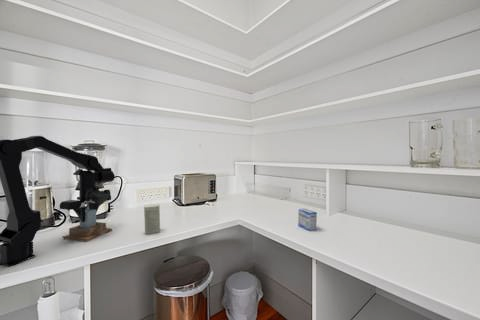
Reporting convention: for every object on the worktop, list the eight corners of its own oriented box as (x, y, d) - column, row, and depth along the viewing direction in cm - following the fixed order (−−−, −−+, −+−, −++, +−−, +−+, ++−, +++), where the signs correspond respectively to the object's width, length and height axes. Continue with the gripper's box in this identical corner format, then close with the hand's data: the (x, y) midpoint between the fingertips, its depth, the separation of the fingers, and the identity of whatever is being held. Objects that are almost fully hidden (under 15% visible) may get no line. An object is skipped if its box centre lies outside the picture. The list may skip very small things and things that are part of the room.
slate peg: (87, 230, 83) (87, 211, 82) (79, 229, 83) (79, 211, 83) (96, 227, 87) (96, 209, 86) (88, 226, 87) (88, 208, 87)
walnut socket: (86, 241, 78) (86, 232, 78) (62, 239, 80) (62, 229, 80) (111, 230, 90) (111, 222, 90) (90, 228, 92) (90, 220, 92)
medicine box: (297, 226, 98) (297, 208, 98) (304, 224, 100) (304, 207, 100) (310, 231, 91) (310, 213, 91) (316, 229, 93) (317, 211, 93)
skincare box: (160, 229, 92) (160, 203, 92) (159, 232, 88) (159, 205, 88) (145, 231, 90) (145, 204, 90) (144, 234, 86) (144, 207, 85)
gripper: (81, 189, 74) (81, 229, 74) (120, 182, 92) (121, 215, 92) (58, 187, 76) (58, 227, 76) (101, 181, 94) (101, 213, 95)
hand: (88, 220), depth 85 cm, fingers closed on slate peg, 4 cm apart
